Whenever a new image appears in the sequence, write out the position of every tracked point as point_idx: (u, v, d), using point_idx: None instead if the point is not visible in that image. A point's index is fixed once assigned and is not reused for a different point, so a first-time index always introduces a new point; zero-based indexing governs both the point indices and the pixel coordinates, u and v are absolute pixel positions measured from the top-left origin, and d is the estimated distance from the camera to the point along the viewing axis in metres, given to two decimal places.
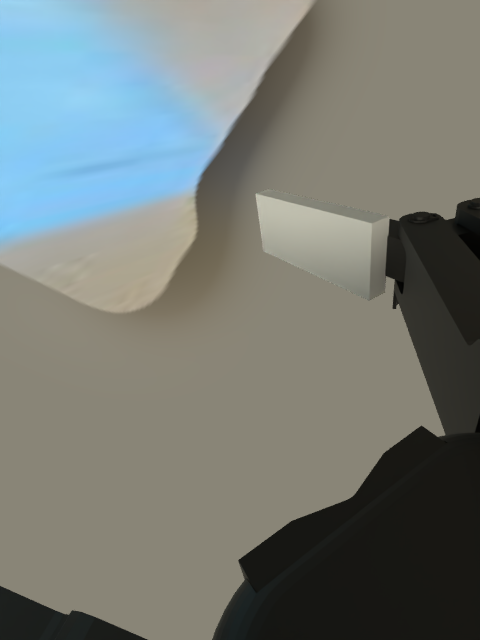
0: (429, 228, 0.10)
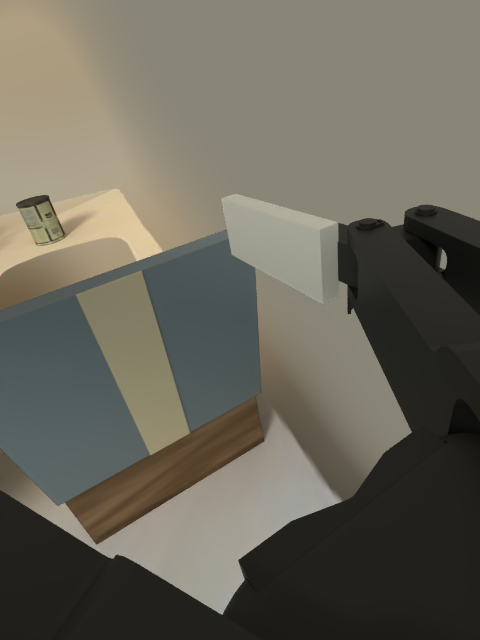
0: (376, 234, 0.11)
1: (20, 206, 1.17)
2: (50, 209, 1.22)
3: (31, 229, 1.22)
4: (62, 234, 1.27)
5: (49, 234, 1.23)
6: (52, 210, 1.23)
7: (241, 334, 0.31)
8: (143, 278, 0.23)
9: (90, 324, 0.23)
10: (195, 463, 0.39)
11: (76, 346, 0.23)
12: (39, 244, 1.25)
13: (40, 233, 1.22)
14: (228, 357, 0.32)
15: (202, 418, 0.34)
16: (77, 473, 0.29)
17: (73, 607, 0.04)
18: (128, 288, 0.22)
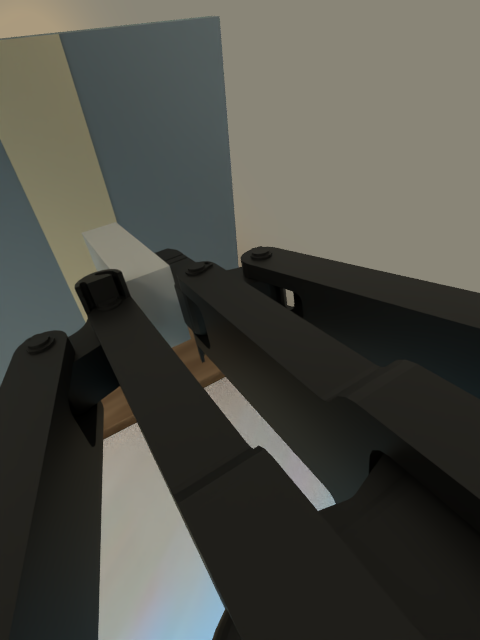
0: (210, 278, 0.10)
1: None
2: None
3: None
4: None
5: None
6: None
7: (211, 194, 0.25)
8: (62, 48, 0.17)
9: None
10: None
11: None
12: None
13: None
14: (195, 227, 0.25)
15: None
16: (0, 361, 0.23)
17: (219, 467, 0.05)
18: (40, 59, 0.16)
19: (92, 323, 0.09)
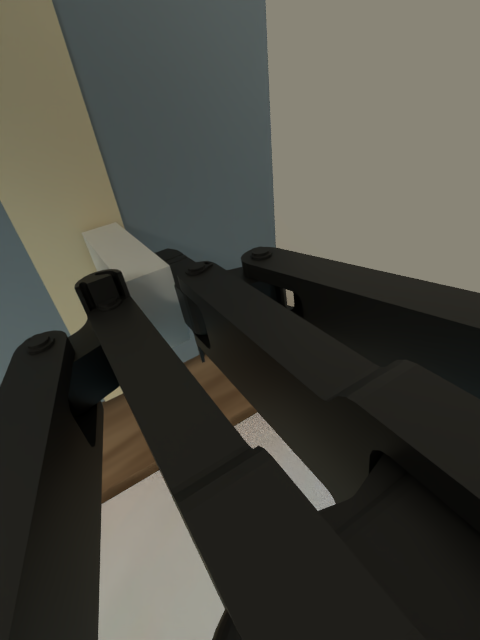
0: (210, 277, 0.10)
1: None
2: None
3: None
4: None
5: None
6: None
7: (246, 187, 0.19)
8: None
9: None
10: None
11: None
12: None
13: None
14: (226, 232, 0.19)
15: (188, 346, 0.22)
16: None
17: (218, 467, 0.05)
18: None
19: (92, 323, 0.09)
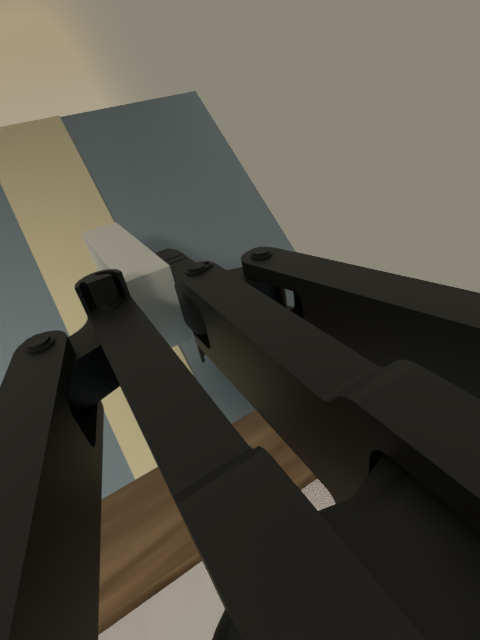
0: (210, 278, 0.10)
1: None
2: None
3: None
4: None
5: None
6: None
7: (244, 217, 0.20)
8: (63, 125, 0.20)
9: None
10: None
11: None
12: None
13: None
14: (238, 255, 0.19)
15: (239, 392, 0.17)
16: None
17: (218, 467, 0.05)
18: (44, 131, 0.19)
19: (92, 323, 0.09)
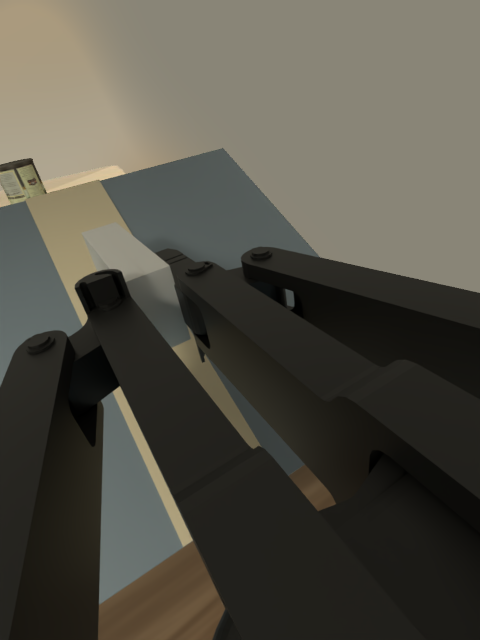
0: (210, 277, 0.10)
1: None
2: (34, 174, 1.01)
3: (11, 199, 1.01)
4: None
5: None
6: (37, 176, 1.02)
7: None
8: (102, 187, 0.21)
9: (39, 228, 0.19)
10: None
11: (19, 253, 0.18)
12: None
13: None
14: None
15: None
16: None
17: (219, 467, 0.05)
18: (84, 193, 0.20)
19: (92, 323, 0.09)
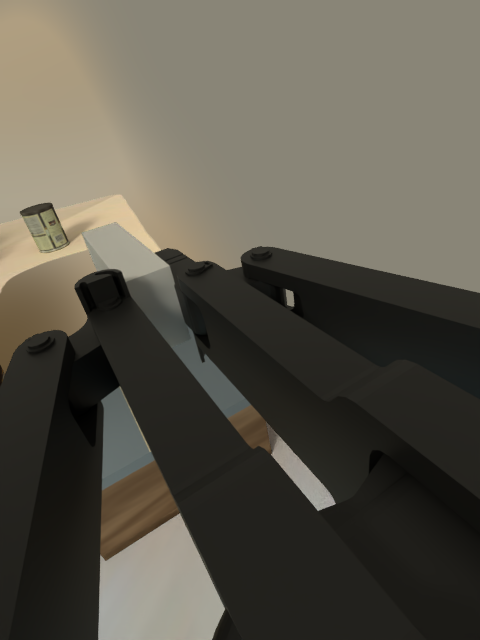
0: (210, 278, 0.10)
1: (24, 214, 1.18)
2: (53, 216, 1.22)
3: (35, 237, 1.22)
4: (66, 241, 1.27)
5: (53, 242, 1.24)
6: (56, 217, 1.23)
7: None
8: None
9: None
10: None
11: None
12: (43, 251, 1.25)
13: (44, 241, 1.23)
14: (203, 368, 0.42)
15: None
16: None
17: (218, 467, 0.05)
18: None
19: (92, 323, 0.09)
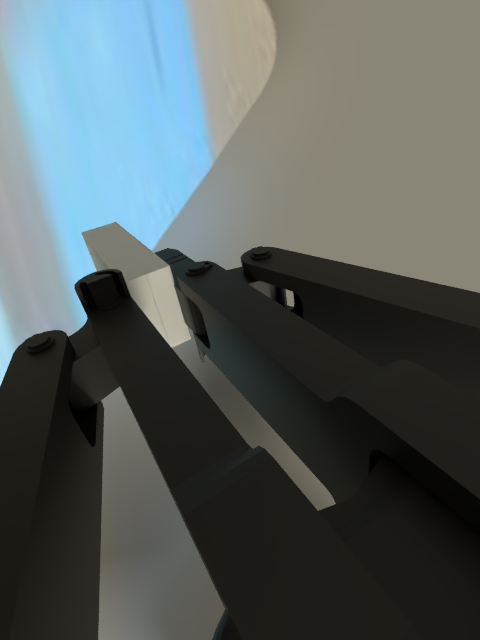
0: (210, 278, 0.10)
1: None
2: None
3: None
4: None
5: None
6: None
7: None
8: None
9: None
10: None
11: None
12: None
13: None
14: None
15: None
16: None
17: (219, 467, 0.05)
18: None
19: (92, 323, 0.09)
